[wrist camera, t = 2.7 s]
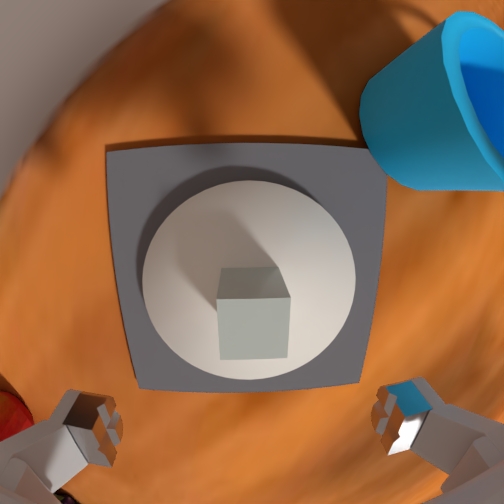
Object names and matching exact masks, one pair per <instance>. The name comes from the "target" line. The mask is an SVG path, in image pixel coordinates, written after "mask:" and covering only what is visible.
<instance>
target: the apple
mask: <svg viewBox="0 0 504 504" xmlns="http://www.w3.org/2000/svg"><path fill="white" fill-rule="evenodd" d="M33 425H34V421H33V417H32V415H31V414H30V412H29V410H28V409H27V408H26V407H25V405H24V404H23V403H22V402H21V401H20V400H19V399H18V398H17V397H16V396H14V395H13V394H11V393H9V392H3V391H0V442H1V441H3V440H5V439H7V438H9V437H11V436H13V435H15V434H17V433H19V432H21V431H23V430H25V429H27V428H29V427H31V426H33Z"/></svg>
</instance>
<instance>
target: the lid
mask: <svg viewBox="0 0 504 504" xmlns="http://www.w3.org/2000/svg"><path fill="white" fill-rule="evenodd" d="M355 280H356V276H355V264H354V260H353V256H352V251H351V249H350V246H349V244H348V241H347V239H346V237H345V235H344V233H343V232H342V230H341V228H340V226H339V225H338V224H337V223H336V221H335V220H334V219H333V217H332V216H331V215H330V214H329V213H328V212H327V211H326V210H325V209H324V208H323V207H322V206H320V205H319V204H318V203H316V202H315V201H314V200H312V199H311V198H309V197H308V196H306V195H304V194H302V193H300V192H298V191H296V190H294V189H291V188H288V187H285V186H283V185H280V184H276V183H271V182H266V181H255V180H244V181H233V182H228V183H224V184H219V185H217V186H214V187H211V188H208V189H206V190H204V191H202V192H200V193H198V194H196V195H194V196H193V197H191V198H189V199H188V200H186V201H185V202H184V203H182V204H181V205H180V206H178V207H177V208H176V209H175V210H174V211H173V212H172V213H171V214H170V215H169V216H168V217H167V218H166V219H165V221H164V222H163V223H162V225H161V226H160V227H159V228H158V230H157V232H156V234H155V235H154V237H153V239H152V241H151V243H150V246H149V248H148V251H147V254H146V258H145V262H144V267H143V278H142V285H143V296H144V301H145V305H146V309H147V311H148V314H149V317H150V319H151V321H152V323H153V325H154V327H155V329H156V331H157V332H158V334H159V335H160V336H161V338H162V339H163V341H164V342H165V343H166V344H167V345H168V346H169V347H170V348H171V349H172V350H173V351H174V352H175V353H176V354H177V355H178V356H180V357H181V358H182V359H184V360H185V361H187V362H188V363H190V364H191V365H193V366H195V367H197V368H199V369H201V370H203V371H206V372H208V373H211V374H214V375H218V376H222V377H226V378H232V379H245V380H253V379H264V378H269V377H274V376H278V375H281V374H284V373H287V372H290V371H292V370H294V369H297V368H299V367H301V366H302V365H304V364H306V363H308V362H309V361H311V360H312V359H313V358H315V357H316V356H317V355H319V354H320V353H321V352H322V351H323V350H324V349H325V348H326V347H327V346H328V345H329V344H330V343H331V342H332V341H333V340H334V338H335V337H336V336H337V334H338V333H339V331H340V330H341V328H342V327H343V325H344V323H345V321H346V319H347V317H348V315H349V312H350V309H351V306H352V303H353V298H354V292H355Z"/></svg>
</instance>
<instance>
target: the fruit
mask: <svg viewBox="0 0 504 504" xmlns="http://www.w3.org/2000/svg"><path fill="white" fill-rule="evenodd" d="M53 495H54V496H55V497H56V498H57V499H58V500H59V501H60V502H61V503H62V504H76V503H74V500H73V499H72V498H71V497H70V496H69V495H62V496H60V495H57V494H55V493H53Z"/></svg>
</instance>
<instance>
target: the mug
mask: <svg viewBox="0 0 504 504" xmlns="http://www.w3.org/2000/svg"><path fill="white" fill-rule="evenodd" d="M359 117H360V122H361V127H362V133H363V137H364V139H365V141H366V143H367V145H368V147H369V150H370V152H371V154H372V156H373V157H374V159H375V160H376V161H377V162H378V164H379V165H380V166H381V168H382V169H383V170H384V171H385V173H386V174H388V175H389V176H390V177H392V178H393V179H395V180H396V181H397V182H399V183H400V184H401V185H403V186H406V187H409V188H412V189H415V190H418V191H420V190H478V191H504V31H503V30H502V29H501V28H499V27H498V26H497V25H496V24H494V23H493V22H492V21H491V20H489V19H487V18H485V17H483V16H481V15H478V14H476V13H474V12H465V11H457V12H456V13H454V14H453V15H451V16H450V17H448V18H447V19H446V20H444V21H443V22H442V23H440V24H439V25H438V26H436V27H435V28H434V29H432V30H431V31H430V32H428V33H427V34H426V35H425V36H423V37H422V38H421V39H419V40H418V41H417V42H416V43H414V44H413V45H412V46H410V47H409V48H408V49H407V50H405V51H404V52H403V53H402V54H400V55H399V56H398V57H397V58H395V59H394V60H393V61H392V62H390V63H389V64H388V65H387V66H386V67H384V68H383V69H382V70H381V71H380V72H378V73H377V74H376V75H375V76H373V77H372V78H371V79H370V80H369V81H368V83H367V85H366V87H365V89H364V91H363V93H362V95H361V102H360V111H359Z"/></svg>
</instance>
